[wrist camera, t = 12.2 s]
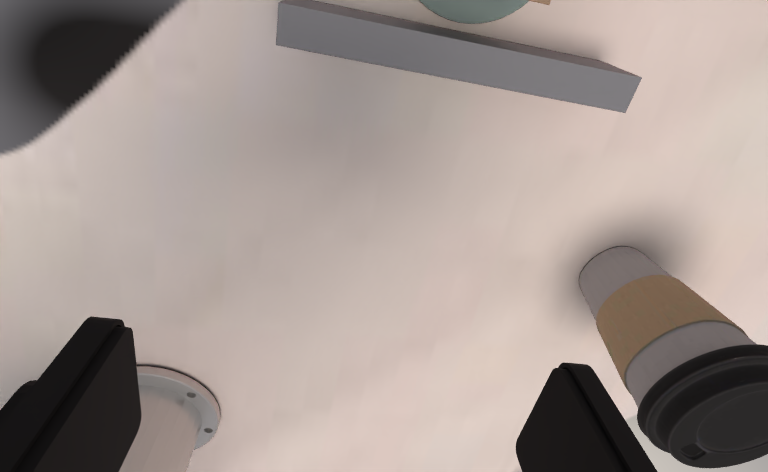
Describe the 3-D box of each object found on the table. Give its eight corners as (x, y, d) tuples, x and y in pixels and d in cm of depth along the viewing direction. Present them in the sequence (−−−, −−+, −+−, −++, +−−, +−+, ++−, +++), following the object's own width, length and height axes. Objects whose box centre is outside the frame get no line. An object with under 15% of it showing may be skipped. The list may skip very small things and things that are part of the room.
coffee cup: (541, 306, 40) (624, 467, 27) (591, 216, 35) (721, 360, 22) (633, 322, 41) (753, 482, 29) (693, 238, 37) (869, 385, 24)
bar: (588, 91, 30) (625, 112, 26) (289, 32, 27) (275, 44, 23) (601, 60, 29) (642, 77, 25) (292, -4, 26) (278, 2, 22)
